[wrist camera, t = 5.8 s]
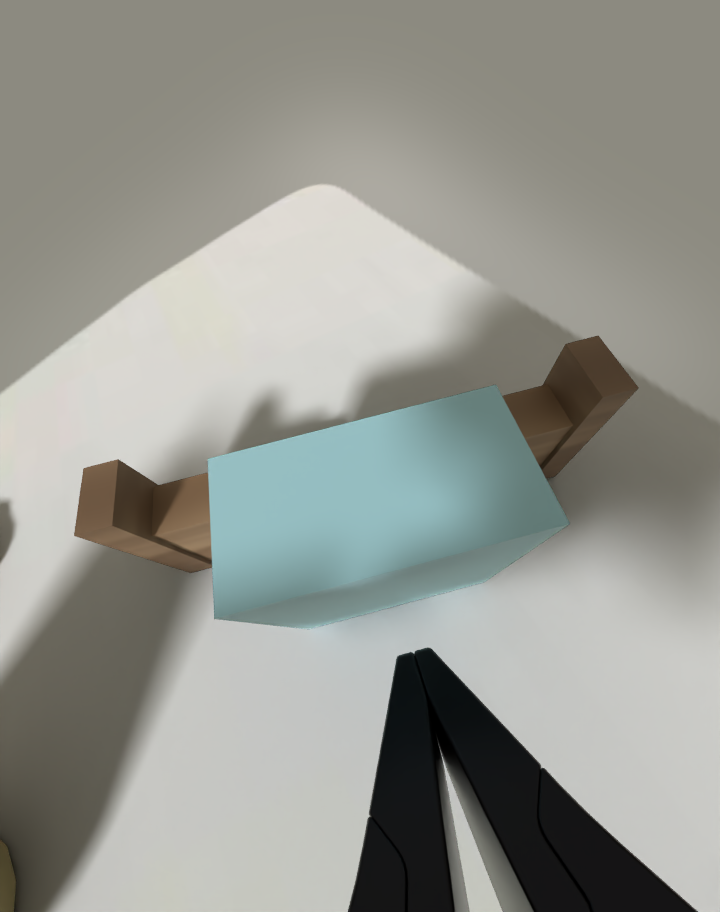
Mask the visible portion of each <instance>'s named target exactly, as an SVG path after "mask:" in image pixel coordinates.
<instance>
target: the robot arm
mask: <svg viewBox="0 0 720 912" xmlns="http://www.w3.org/2000/svg"><path fill="white" fill-rule="evenodd" d="M414 655H415V656H414ZM438 743H439V744H438ZM439 747H440V748H439ZM440 750H441V752H440ZM441 753H442V756H441ZM442 757H443V760H444V762H445V765H446V768H447V771H448V773H449V776H450V778H451V781H452V783H453V786H454V788H455V791H456V793H457V796H458V799H459V801H460V804H461V806H462V809H463V811H464V814H465V816H466V819H467V822H468V824H469V827H470V829H471V832H472V834H473V837H474V839H475V842H476V845H477V847H478V850H479V852H480V855H481V857H482V860H483V862H484V865H485V867H486V870H487V873H488V875H489V878H490V880H491V883H492V885H493V888H494V890H495V893H496V896H497V898H498V901H499V903H500V906H501V908H502V911H503V912H698V911H696V910H695V909H694V908H693V907H692V906H691V905H690V904H689V903H687V902H686V901H685V900H684V899H683V898H682V897H681V896H680V895H678V894H677V893H676V892H675V891H674V890H673V889H672V888H671V887H669V886H668V885H667V884H666V883H665V882H664V881H663V880H662V879H660V878H659V877H658V876H657V875H656V874H655V873H654V872H653V871H651V870H650V869H649V868H648V867H647V866H646V865H645V864H644V863H642V862H641V861H640V860H639V859H638V858H637V857H636V856H634V855H633V854H632V853H631V852H630V851H629V850H628V849H627V848H625V847H624V846H623V845H622V844H621V843H620V842H619V841H618V840H617V839H616V838H614V837H613V836H612V835H611V834H610V833H609V832H608V831H607V830H606V829H605V828H604V827H603V826H601V825H600V824H599V823H598V822H597V821H596V820H595V819H594V818H593V817H592V816H591V815H590V814H588V813H587V812H586V811H585V810H584V809H583V808H582V807H581V806H580V805H579V804H578V803H577V802H576V800H575V799H574V798H573V797H572V796H571V795H570V794H569V793H568V792H567V791H566V790H565V789H564V788H563V787H562V786H561V785H560V784H559V783H558V782H557V781H556V780H555V779H554V778H553V777H552V776H551V775H550V774H549V773H548V772H547V770H546V769H544V768H541V765H540V763H539V762H538V761H537V760H536V759H535V758H534V757H533V756H532V755H531V754H530V753H529V752H528V751H527V750H526V748H525V747H524V746H523V745H522V744H521V743H520V742H519V741H518V740H517V739H516V738H515V737H514V736H513V735H512V734H511V733H510V732H509V730H508V729H507V728H506V727H505V726H504V725H503V724H502V723H501V722H500V721H499V720H498V719H497V718H496V717H495V716H494V715H493V714H492V712H491V711H490V710H489V709H488V708H487V707H486V706H485V705H484V704H483V703H482V702H481V701H480V700H479V699H478V698H477V697H476V695H475V694H474V693H473V692H472V691H471V690H470V689H469V688H468V687H467V686H466V685H465V684H464V683H463V682H462V681H461V680H460V679H459V677H458V676H457V675H456V674H455V673H454V672H453V671H452V670H451V669H450V668H449V667H448V666H447V665H446V664H445V663H444V662H443V661H442V659H441V658H440V657H439V656H438V655H437V654H436V653H435V652H434V651H433V650H432V649H431V648H424V649H421V650H417V651H415V653H414V654H413V653H412V652H410V653H406V654H403V655H399V656H398V657H397V659H396V665H395V670H394V676H393V682H392V687H391V693H390V698H389V704H388V710H387V715H386V721H385V726H384V732H383V737H382V743H381V749H380V754H379V760H378V765H377V771H376V777H375V782H374V788H373V793H372V799H371V805H370V810H369V815H370V817H369V818H368V820H367V826H366V831H365V837H364V842H363V847H362V852H361V857H360V862H359V867H358V872H357V877H356V881H355V885H354V889H353V893H352V897H351V901H350V905H349V909H348V912H470V911H469V906H468V900H467V894H466V889H465V883H464V877H463V872H462V866H461V860H460V855H459V849H458V843H457V838H456V832H455V826H454V821H453V815H452V809H451V804H450V798H449V793H448V787H447V781H446V776H445V770H444V765H443V760H442Z"/></svg>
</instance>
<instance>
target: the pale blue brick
mask: <svg viewBox="0 0 720 912" xmlns="http://www.w3.org/2000/svg"><path fill="white" fill-rule="evenodd" d="M208 479H209V503H210V527H211V550H212V574H213V598H214V619H220V620H229V621H238V622H247V623H256V624H265V625H274V626H283V627H292V628H301V629H312V628H316V627H319V626H323V625H327V624H331V623H334V622H338V621H342V620H345V619H349V618H353V617H357V616H360V615H364V614H368V613H371V612H375V611H379V610H383V609H386V608H390V607H394V606H397V605H401V604H405V603H409V602H412V601H416V600H420V599H423V598H427V597H431V596H435V595H438V594H442V593H446V592H449V591H453V590H457V589H461V588H464V587H468V586H472V585H475V584H479V583H483V582H485V581H487V580H488V579H490V578H491V577H493V576H494V575H496V574H497V573H499V572H500V571H502V570H503V569H505V568H506V567H507V566H509V565H510V564H512V563H513V562H515V561H516V560H518V559H519V558H521V557H522V556H524V555H525V554H527V553H528V552H529V551H531V550H532V549H534V548H535V547H537V546H538V545H540V544H541V543H543V542H544V541H546V540H547V539H549V538H550V537H551V536H553V535H554V534H556V533H557V532H559V531H560V530H562V529H563V528H565V527H566V526H568V525H569V524H570V523H569V521H568V519H567V517H566V515H565V513H564V511H563V509H562V508H561V506H560V504H559V502H558V500H557V498H556V496H555V494H554V493H553V491H552V489H551V487H550V485H549V483H548V481H547V479H546V478H545V476H544V474H543V472H542V470H541V468H540V466H539V464H538V463H537V461H536V459H535V457H534V455H533V453H532V451H531V449H530V448H529V446H528V444H527V442H526V440H525V438H524V436H523V434H522V433H521V431H520V429H519V427H518V425H517V423H516V421H515V419H514V418H513V416H512V414H511V412H510V410H509V408H508V406H507V404H506V402H505V401H504V399H503V397H502V395H501V393H500V391H499V389H498V387H497V386H496V385H492V386H488V387H485V388H481V389H477V390H473V391H469V392H465V393H461V394H457V395H454V396H450V397H446V398H442V399H438V400H434V401H430V402H426V403H423V404H419V405H415V406H411V407H407V408H403V409H399V410H395V411H391V412H388V413H384V414H380V415H376V416H372V417H368V418H364V419H360V420H357V421H353V422H349V423H345V424H341V425H337V426H333V427H329V428H326V429H322V430H318V431H314V432H310V433H306V434H302V435H298V436H295V437H291V438H287V439H283V440H279V441H275V442H271V443H267V444H264V445H260V446H256V447H252V448H248V449H244V450H240V451H236V452H233V453H229V454H225V455H221V456H217V457H213V458H209V459H208Z"/></svg>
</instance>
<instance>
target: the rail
mask: <svg viewBox="0 0 720 912" xmlns="http://www.w3.org/2000/svg"><path fill="white" fill-rule="evenodd" d="M637 389H638V386H637V385H636V384H635V383H634V381H633V380H632V379H631V377H630V376H629V375H628V374H627V372H626V371H625V370H624V368H623V367H622V366H621V364H620V363H619V362H618V361H617V359H616V358H615V357H614V355H613V354H612V353H611V351H610V350H609V349H608V348H607V346H606V345H605V344H604V342H603V341H602V340H601V339H600V337H599V336H595V337H591V338H587V339H583V340H579V341H575V342H572V343H568V344H565V346H564V348H563V350H562V351H561V353H560V355H559V357H558V359H557V360H556V362H555V364H554V366H553V368H552V369H551V371H550V373H549V375H548V377H547V378H546V380H545V382H544V384H543V385H542V386H539V387H535V388H531V389H528V390H524V391H520V392H516V393H512V394H508V395H504V396H502V397H503V399H504V401H505V402H506V404H507V406H508V408H509V410H510V412H511V414H512V416H513V418H514V419H515V421H516V423H517V425H518V427H519V429H520V431H521V433H522V434H523V436H524V438H525V440H526V442H527V444H528V446H529V448H530V449H531V451H532V453H533V455H534V457H535V459H536V461H537V463H538V464H539V466H540V468H541V470H542V472H543V474H544V476H545V478H550V477H554V476H556V475H557V474H558V473H559V472H560V471H561V470H562V469H563V467H564V466H565V465H566V464H567V463H568V462H569V461H570V460H571V459H572V458H573V457H574V456H575V455H576V454H577V453H578V452H579V451H580V450H581V448H582V447H583V446H584V445H585V444H586V443H587V442H588V441H589V440H590V439H591V438H592V437H593V436H594V435H595V434H596V433H597V432H598V431H599V429H600V428H601V427H602V426H603V425H604V424H605V423H606V422H607V421H608V420H609V419H610V418H611V417H612V416H613V415H614V414H615V413H616V411H617V410H618V409H619V408H620V407H621V406H622V405H623V404H624V403H625V402H626V401H627V400H628V399H629V398H630V397H631V396H632V395H633V394H634V392H635V391H636V390H637ZM74 536H77V537H80V538H83V539H86V540H89V541H92V542H95V543H98V544H102V545H105V546H108V547H111V548H114V549H117V550H120V551H124V552H127V553H130V554H133V555H136V556H139V557H142V558H145V559H149V560H152V561H155V562H158V563H161V564H164V565H167V566H171V567H174V568H177V569H180V570H183V571H186V572H189V573H192V572H196V571H200V570H204V569H207V568H211V567H212V550H211V527H210V503H209V479H208V473H204V474H201V475H197V476H193V477H189V478H185V479H181V480H178V481H174V482H170V483H166V484H162V485H157V484H156V483H154V482H153V481H151V480H150V479H148V478H146V477H145V476H143V475H142V474H140V473H139V472H137V471H135V470H134V469H132V468H131V467H129V466H128V465H126V464H125V463H123V462H121V461H120V460H114V461H110V462H106V463H102V464H98V465H95V466H91V467H87V468H84V469H83V476H82V483H81V490H80V498H79V505H78V512H77V519H76V526H75V533H74Z"/></svg>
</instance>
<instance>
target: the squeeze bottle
mask: <svg viewBox="0 0 720 912" xmlns="http://www.w3.org/2000/svg"><path fill="white" fill-rule="evenodd" d="M15 890H16V878H15V874H14V871H13V867H12V863H11V859H10V855H9V851H8V848H7V846H6V845H5V844H4V843H3V842H2V841H1V840H0V912H14V902H15Z"/></svg>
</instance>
